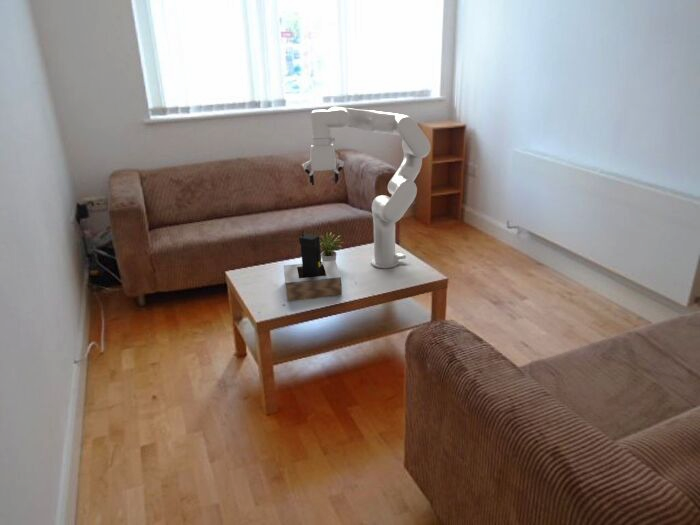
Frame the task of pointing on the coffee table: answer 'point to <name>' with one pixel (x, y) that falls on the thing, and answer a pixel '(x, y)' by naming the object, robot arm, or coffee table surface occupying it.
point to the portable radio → (310, 255)
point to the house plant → (329, 248)
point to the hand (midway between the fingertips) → (324, 183)
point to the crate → (312, 282)
